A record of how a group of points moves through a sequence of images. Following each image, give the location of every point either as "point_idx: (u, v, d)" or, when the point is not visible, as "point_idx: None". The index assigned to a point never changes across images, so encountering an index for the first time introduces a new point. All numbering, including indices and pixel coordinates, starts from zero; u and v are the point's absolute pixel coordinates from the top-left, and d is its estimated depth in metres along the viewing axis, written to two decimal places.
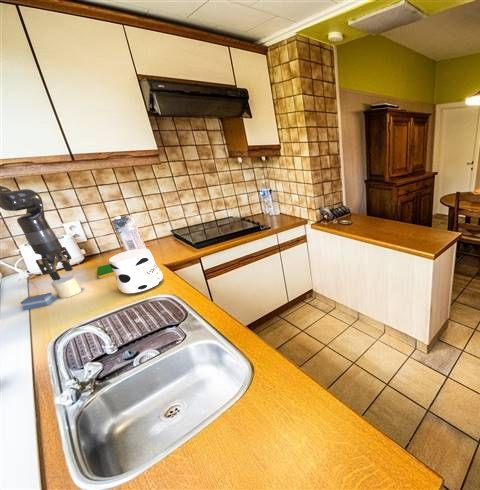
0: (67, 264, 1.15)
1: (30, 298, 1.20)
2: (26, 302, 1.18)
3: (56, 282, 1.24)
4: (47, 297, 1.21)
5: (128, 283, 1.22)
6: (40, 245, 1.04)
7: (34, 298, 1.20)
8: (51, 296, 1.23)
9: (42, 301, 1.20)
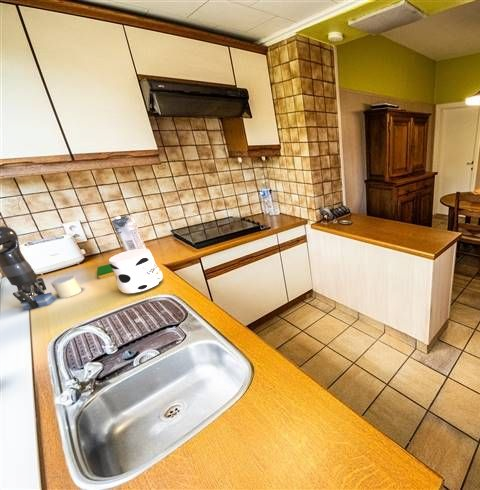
0: None
1: None
2: (26, 302, 1.18)
3: (56, 282, 1.24)
4: (47, 297, 1.21)
5: (128, 283, 1.22)
6: (15, 277, 1.12)
7: (34, 298, 1.20)
8: (51, 296, 1.23)
9: (42, 301, 1.20)
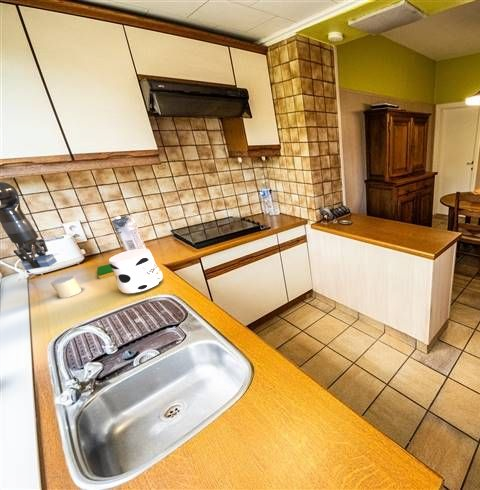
0: None
1: None
2: (27, 262, 1.16)
3: (56, 282, 1.24)
4: (48, 258, 1.19)
5: (128, 283, 1.22)
6: (16, 234, 1.10)
7: None
8: (52, 257, 1.22)
9: (44, 261, 1.18)
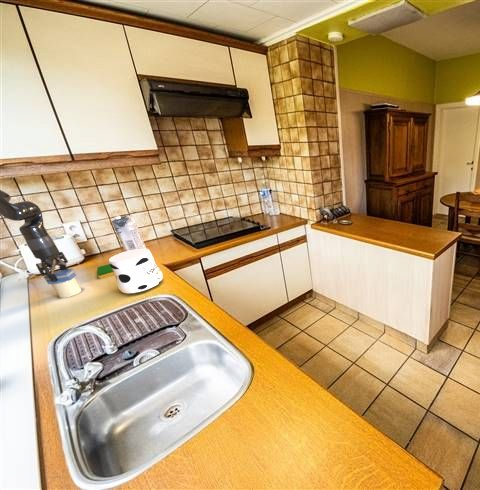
0: (64, 267, 1.28)
1: None
2: None
3: None
4: (69, 272, 1.26)
5: (128, 283, 1.22)
6: (40, 250, 1.17)
7: (56, 273, 1.24)
8: (72, 272, 1.28)
9: (65, 275, 1.24)
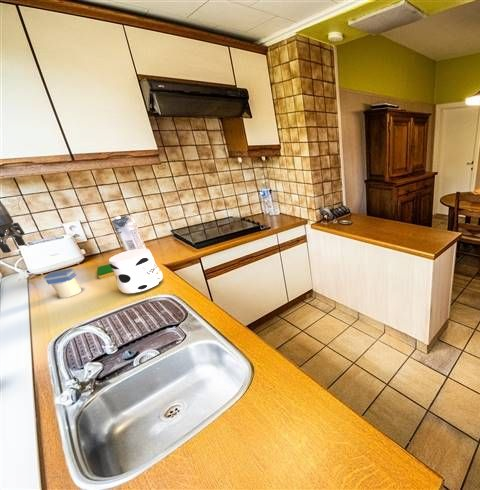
0: (19, 239, 1.22)
1: (53, 273, 1.24)
2: (49, 276, 1.22)
3: None
4: (69, 272, 1.26)
5: (128, 283, 1.22)
6: None
7: (56, 273, 1.24)
8: (72, 272, 1.28)
9: (65, 275, 1.24)
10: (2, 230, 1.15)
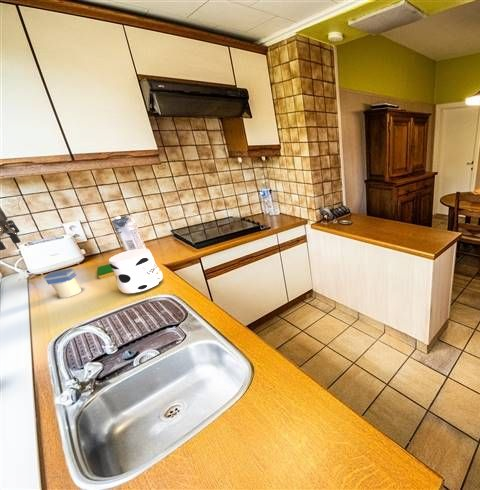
0: (14, 236, 1.22)
1: (53, 273, 1.24)
2: (49, 276, 1.22)
3: None
4: (69, 272, 1.26)
5: (128, 283, 1.22)
6: None
7: (56, 273, 1.24)
8: (72, 272, 1.28)
9: (65, 275, 1.24)
10: None
